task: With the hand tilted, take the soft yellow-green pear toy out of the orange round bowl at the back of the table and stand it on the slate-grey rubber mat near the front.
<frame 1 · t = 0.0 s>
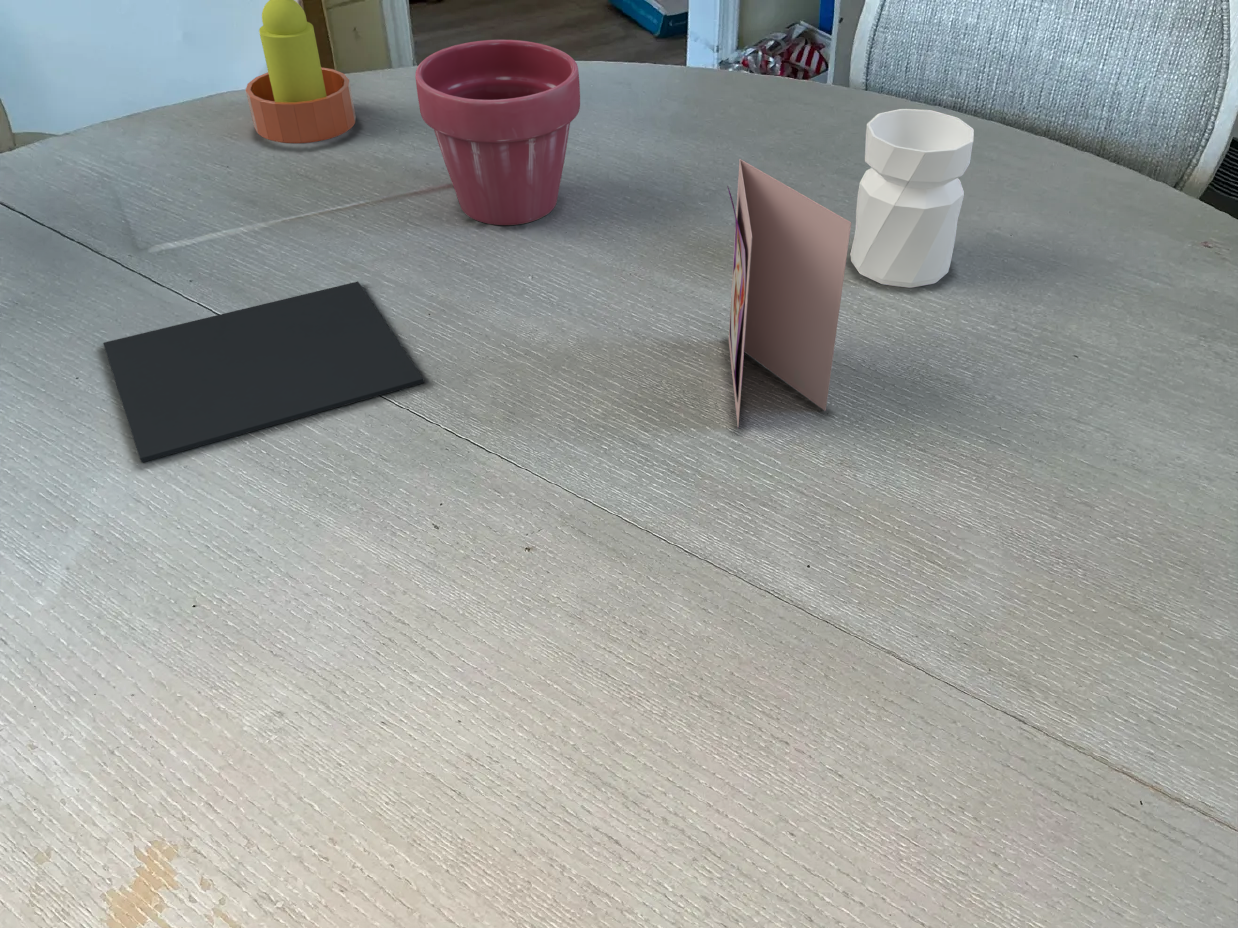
mat: (261, 364, 84), on the table
flower pot: (509, 205, 104), on the table
vase: (898, 264, 97), on the table
orange round bowl: (306, 127, 116), on the table
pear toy: (305, 122, 116), resting on orange round bowl
greeting card: (770, 384, 83), on the table
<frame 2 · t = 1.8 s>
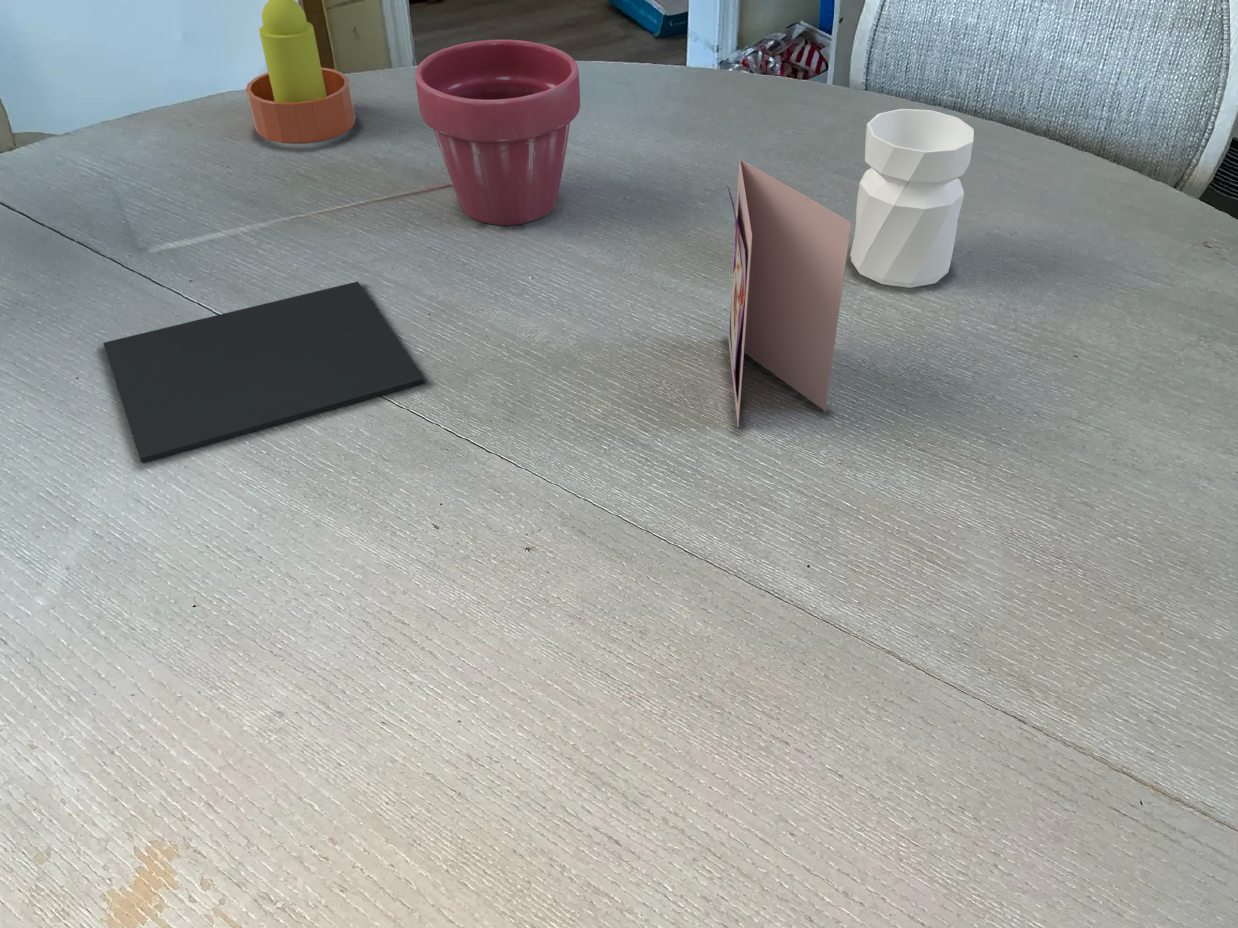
nothing on the table moved.
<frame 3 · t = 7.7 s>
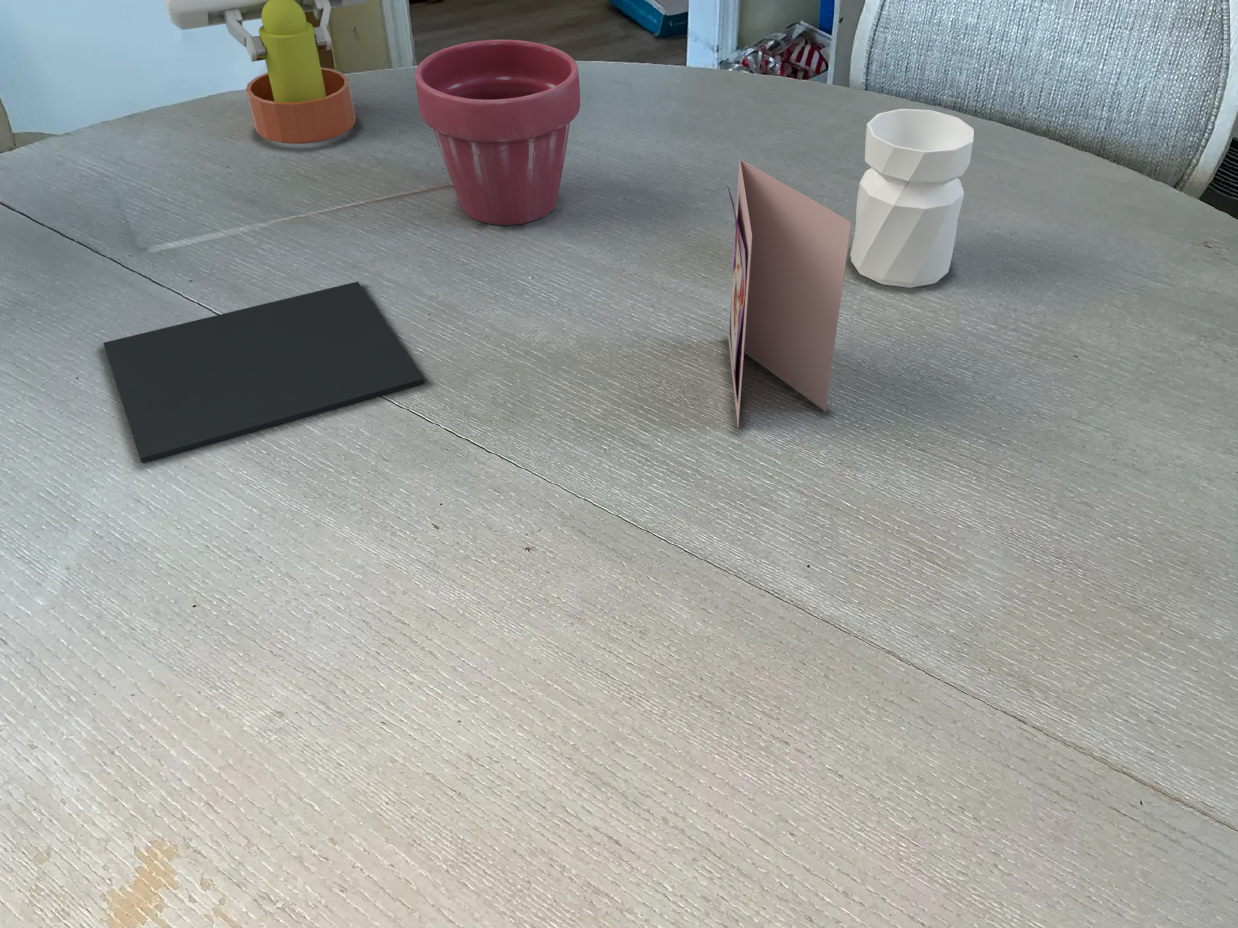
hand: (292, 53, 111), 8 cm above the table, tool tilted 45°, fingers closed on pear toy, 5 cm apart
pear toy: (305, 122, 116), point 1 cm above the table, touching orange round bowl, gripper
everything else where it was.
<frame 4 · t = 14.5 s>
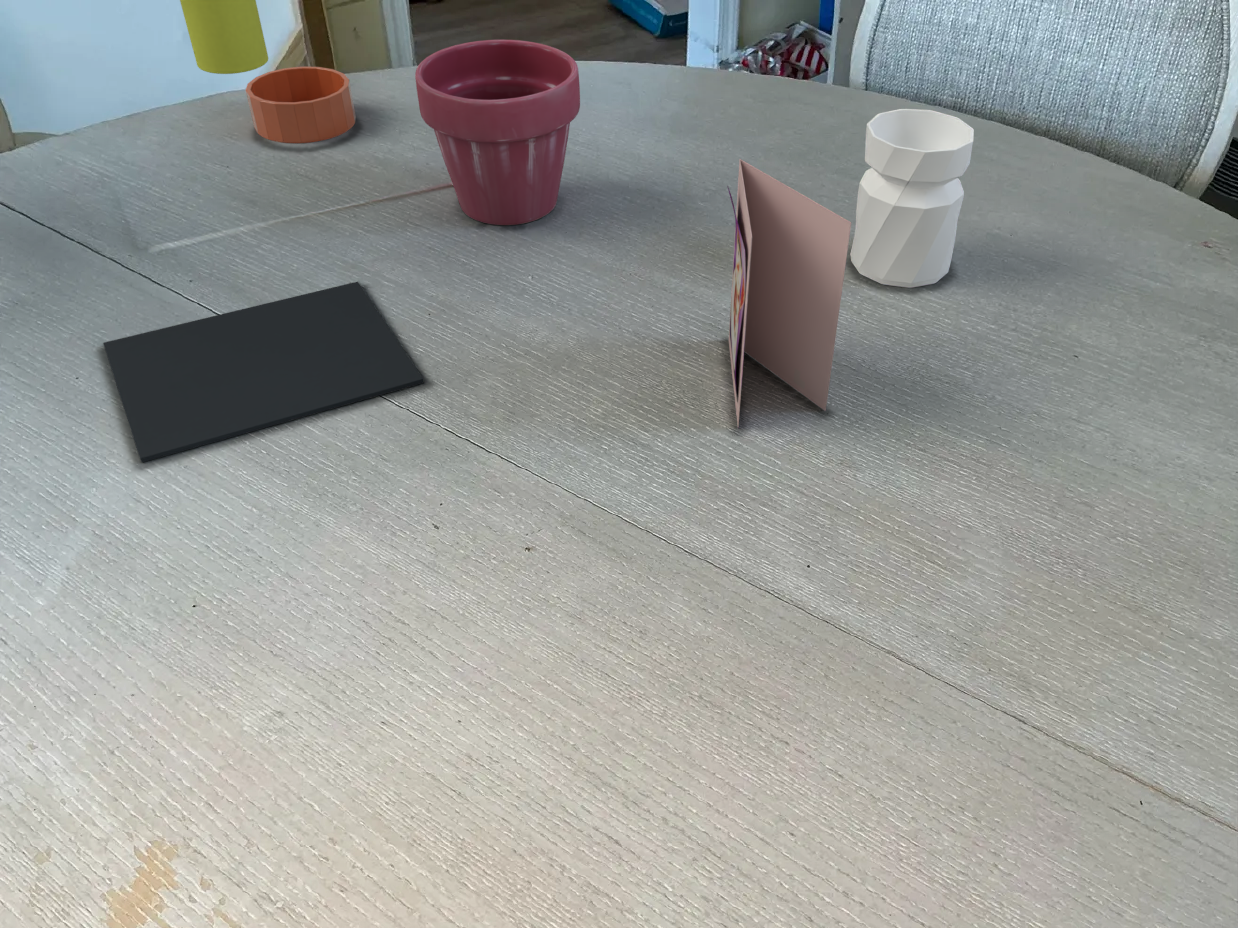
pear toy: (233, 61, 84), point 17 cm above the table, touching gripper
everything else where it was.
when the fingers open (8 cm above the table, at t = 21.5 s): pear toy stays where it is, resting on mat.
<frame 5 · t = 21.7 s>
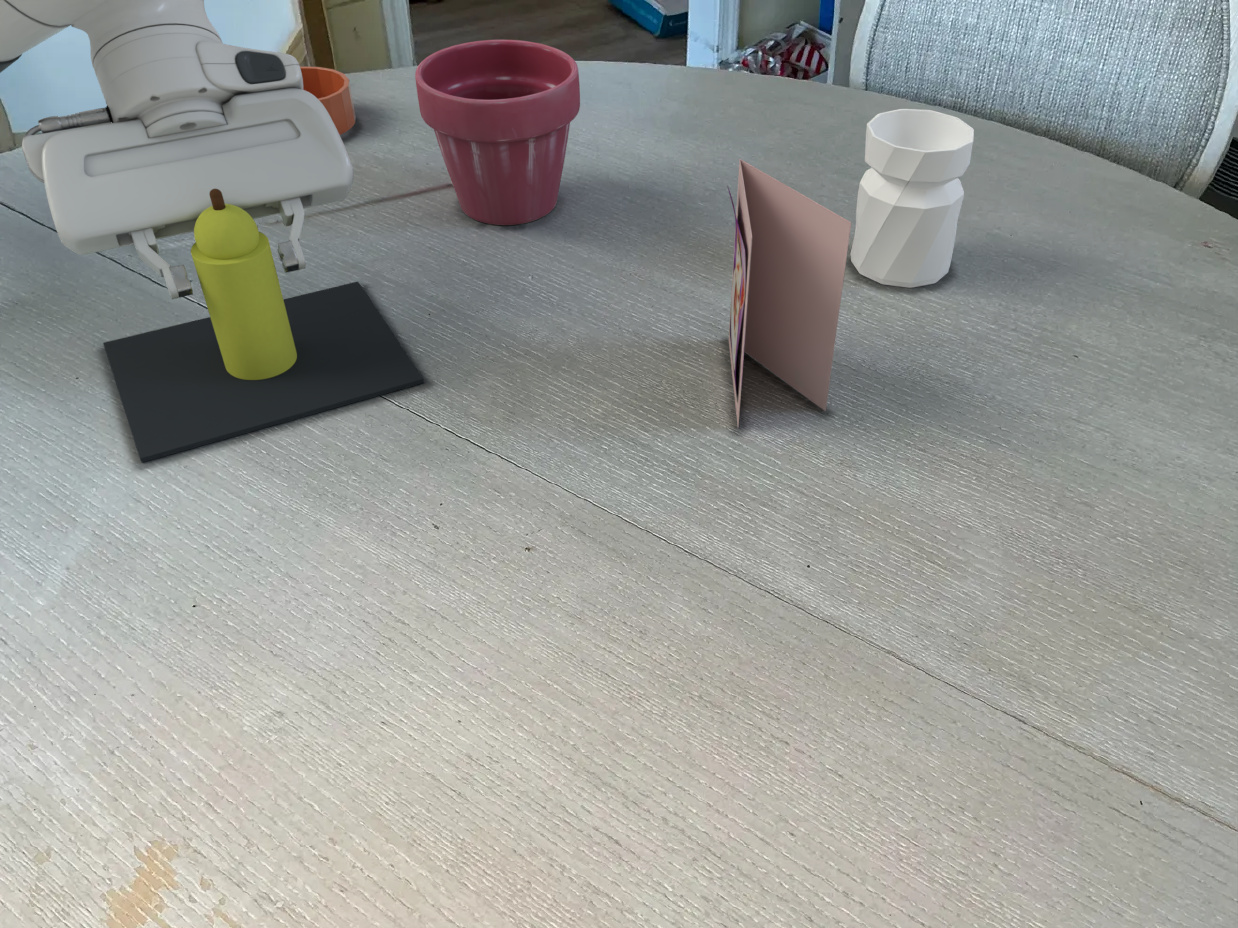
hand: (240, 281, 78), 7 cm above the table, tool tilted 45°, fingers open, 6 cm apart
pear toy: (261, 360, 83), resting on mat
everything else where it was.
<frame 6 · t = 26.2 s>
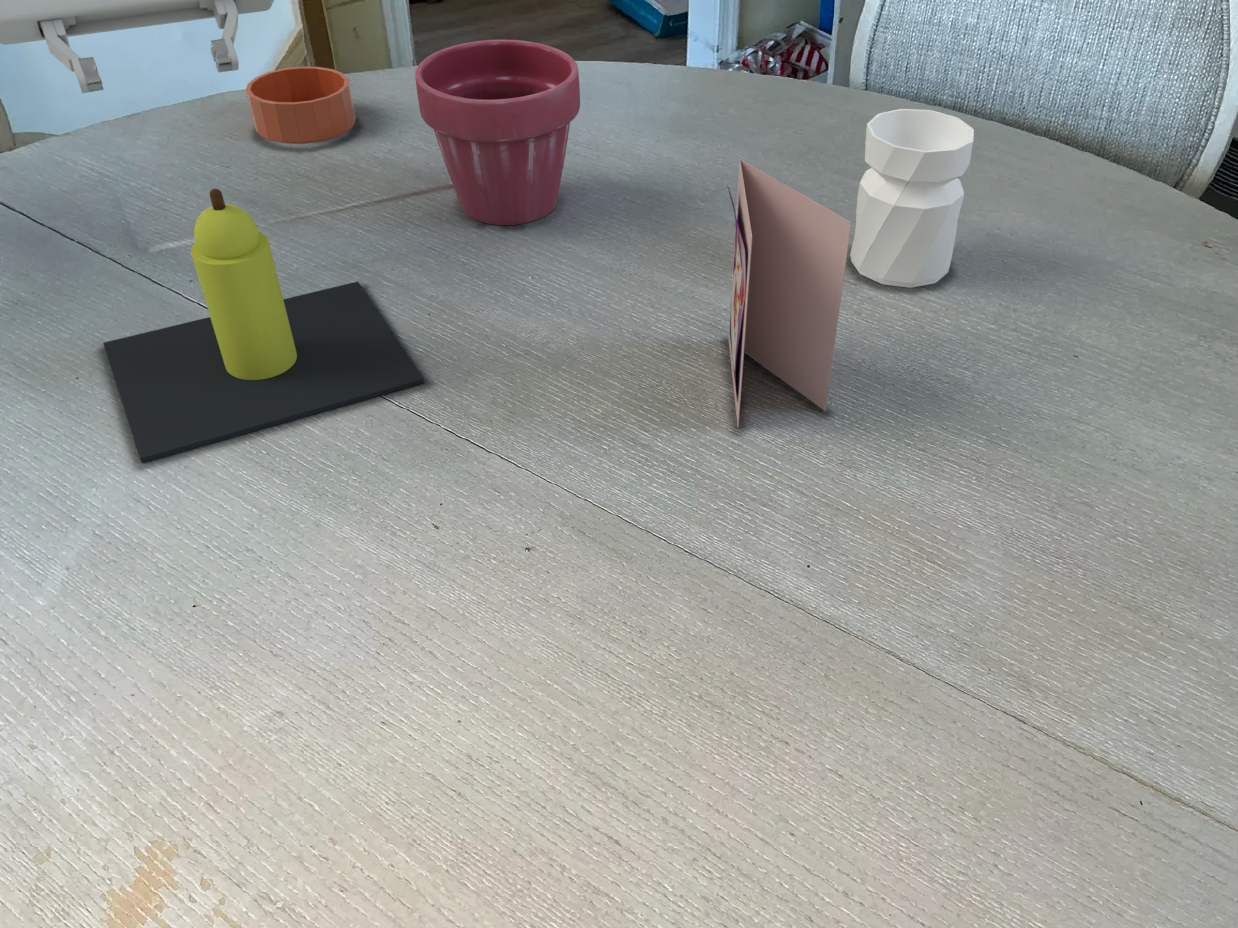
hand: (162, 78, 80), 18 cm above the table, tool tilted 45°, fingers open, 8 cm apart
nothing on the table moved.
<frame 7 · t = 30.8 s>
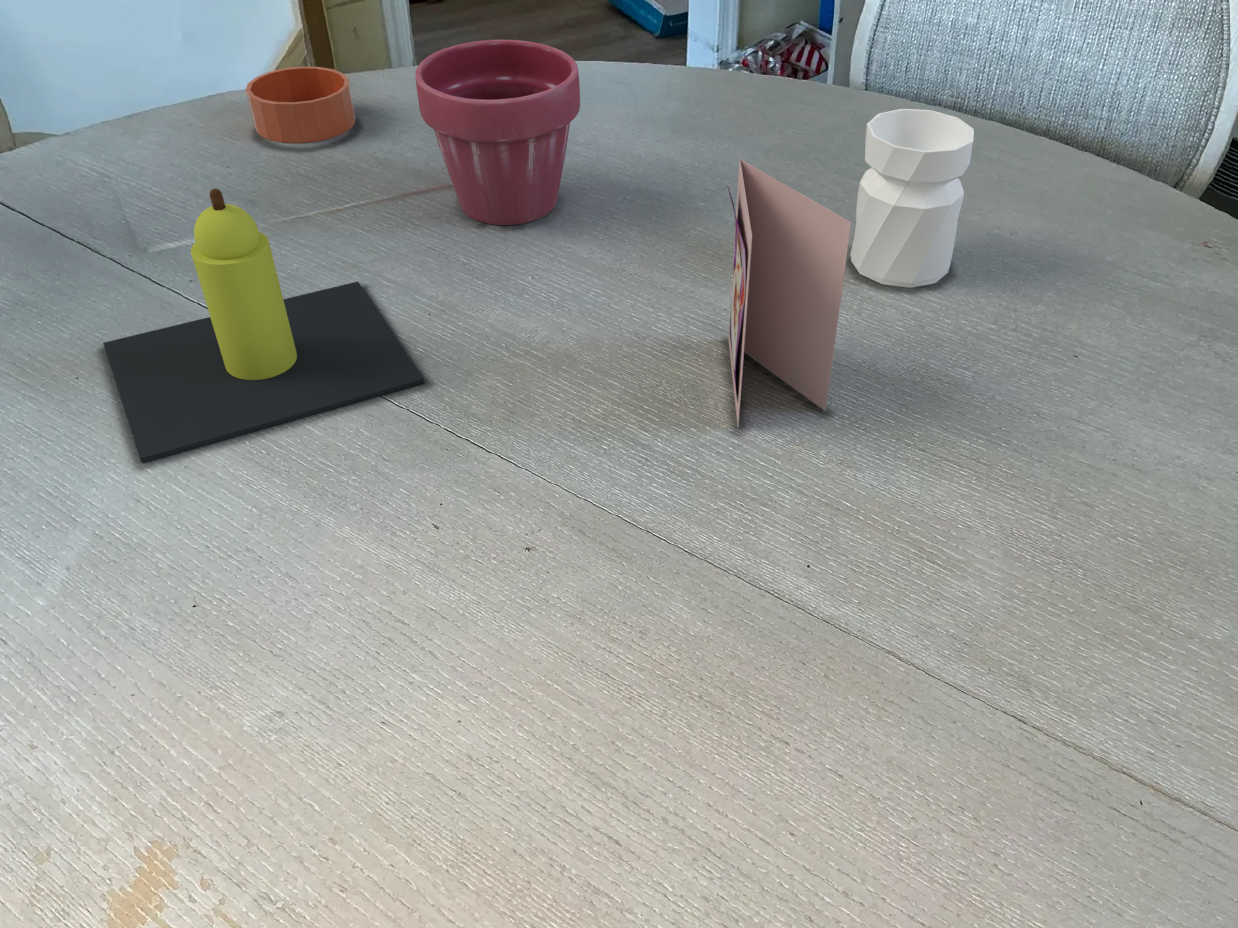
nothing on the table moved.
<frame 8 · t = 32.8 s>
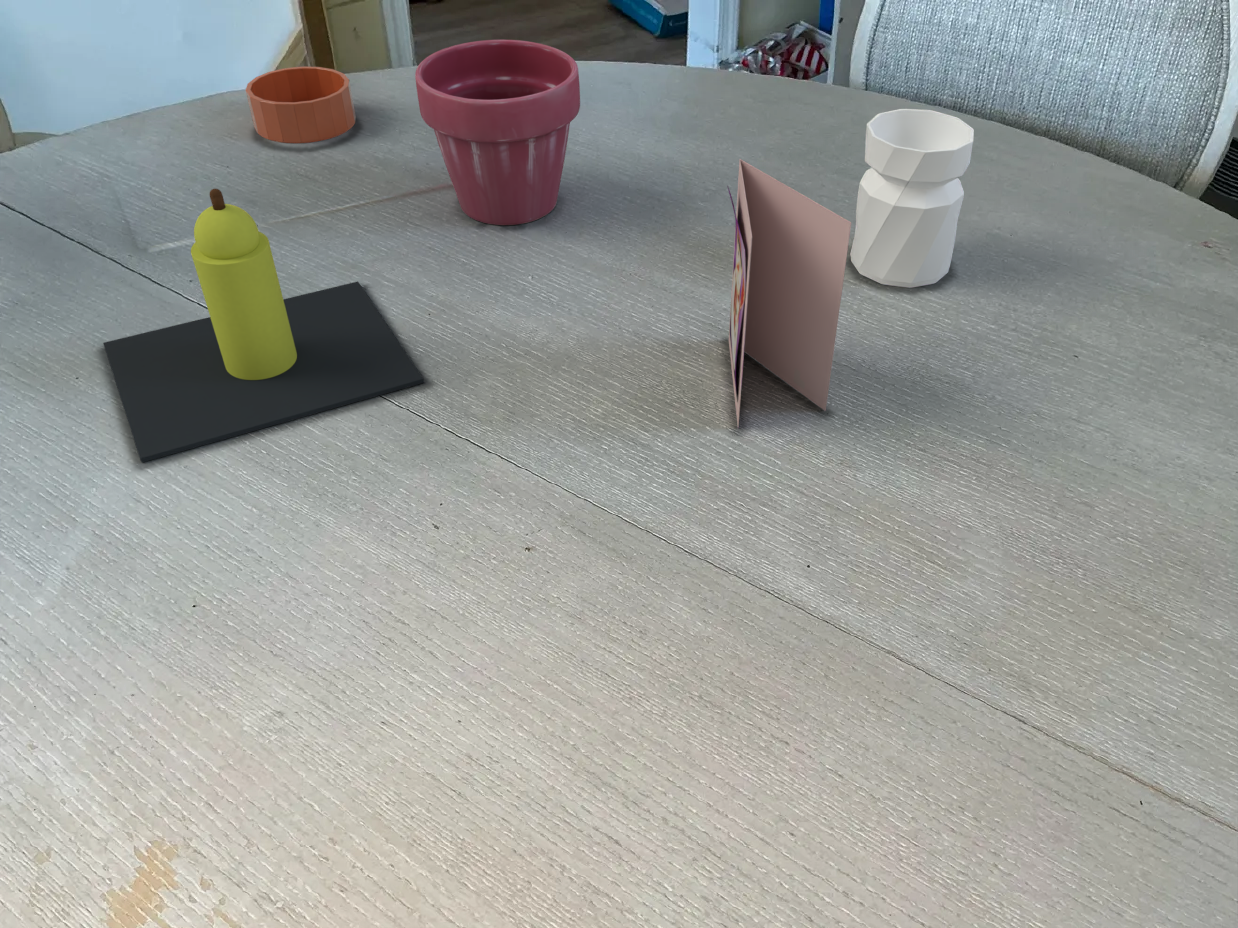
nothing on the table moved.
at the end: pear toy inside the target area on the mat (0.1 cm from its centre), point 0.4 cm above the mat's base; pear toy tilted 0°; the gripper is holding nothing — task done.
